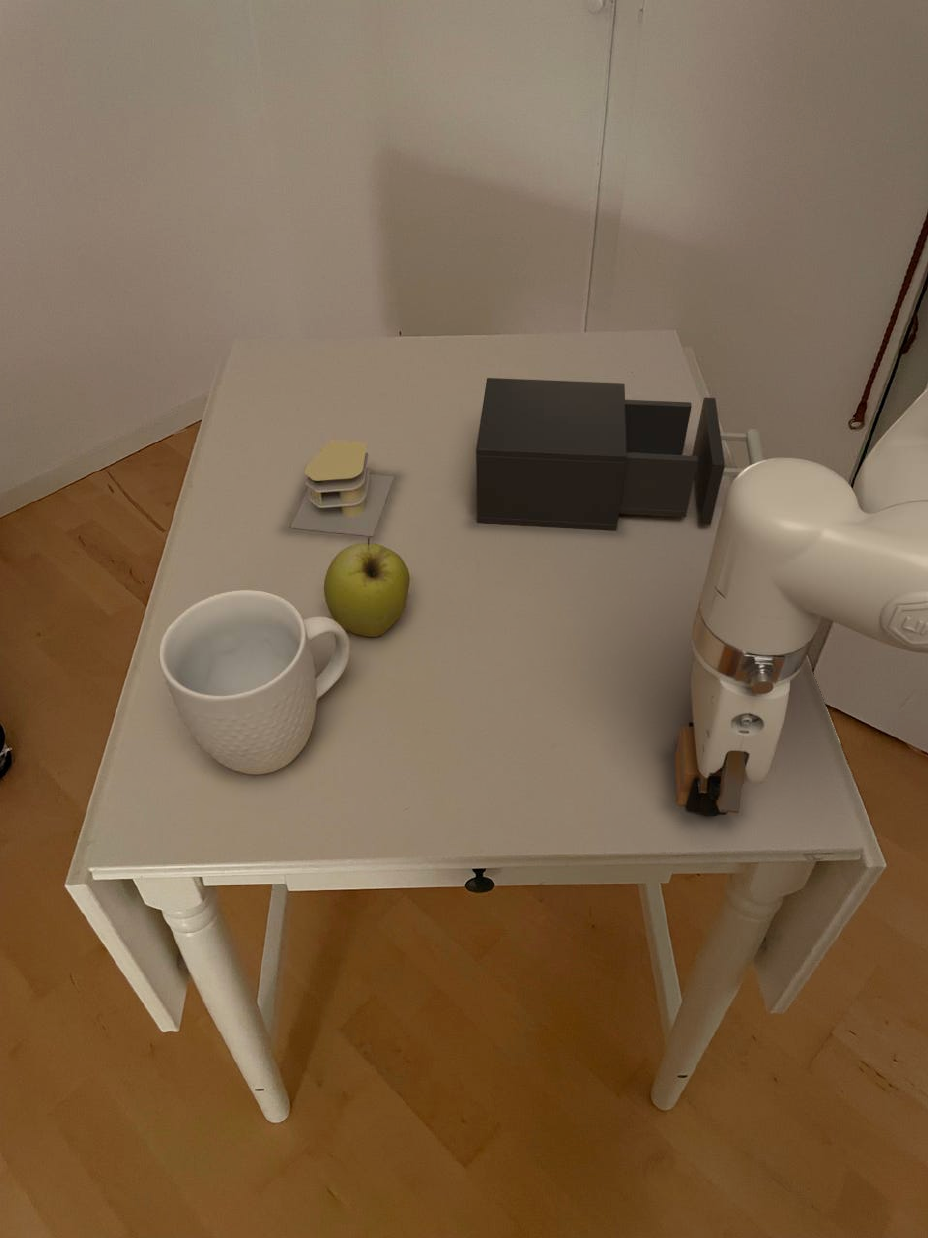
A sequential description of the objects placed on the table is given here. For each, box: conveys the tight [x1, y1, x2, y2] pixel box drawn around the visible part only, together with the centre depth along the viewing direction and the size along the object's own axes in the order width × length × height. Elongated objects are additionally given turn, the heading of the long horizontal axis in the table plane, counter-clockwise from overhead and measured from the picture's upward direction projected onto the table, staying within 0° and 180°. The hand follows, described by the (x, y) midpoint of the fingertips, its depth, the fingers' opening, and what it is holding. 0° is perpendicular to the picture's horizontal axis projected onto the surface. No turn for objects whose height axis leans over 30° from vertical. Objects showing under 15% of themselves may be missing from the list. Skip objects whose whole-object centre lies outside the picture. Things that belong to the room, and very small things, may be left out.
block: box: [673, 725, 747, 806], centre depth 73 cm, size 4×4×4 cm
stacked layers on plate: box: [290, 439, 395, 537], centre depth 97 cm, size 10×9×6 cm
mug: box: [158, 589, 351, 775], centre depth 74 cm, size 15×11×13 cm
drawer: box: [619, 396, 766, 526], centre depth 95 cm, size 18×11×8 cm, turn 84°
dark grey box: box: [475, 377, 627, 531], centre depth 96 cm, size 15×13×10 cm
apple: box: [323, 537, 411, 638], centre depth 84 cm, size 8×8×10 cm
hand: (704, 780), depth 74 cm, fingers closed on block, 4 cm apart
